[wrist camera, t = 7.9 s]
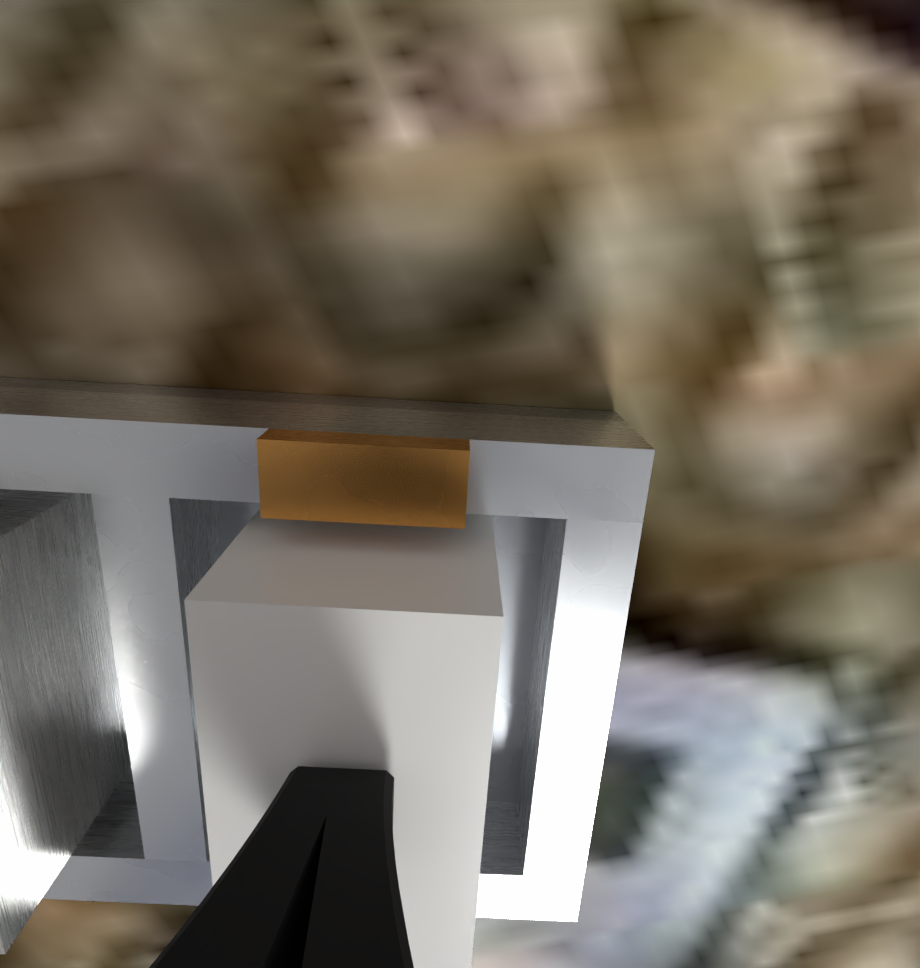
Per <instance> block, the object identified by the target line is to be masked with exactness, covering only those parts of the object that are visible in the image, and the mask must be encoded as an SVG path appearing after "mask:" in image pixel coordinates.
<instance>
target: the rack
mask: <svg viewBox="0 0 920 968" xmlns="http://www.w3.org/2000/svg"><path fill="white" fill-rule="evenodd" d="M654 453H655V449H654V448H653V447H652V446H651V445H649V444H648V443H647V442H646V441H645V440H644V439H643V438H642V437H641V436H640V435H639V434H638V433H637V432H636V431H635V430H634V429H633V428H632V427H631V426H630V425H629V424H628V423H627V422H626V421H625V420H624V419H622V418H621V417H620V416H619V415H618V414H617V413H616V412H615V411H598V410H580V409H562V408H544V407H526V406H509V405H491V404H473V403H455V402H437V401H419V400H401V399H384V398H366V397H348V396H330V395H312V394H294V393H277V392H259V391H241V390H223V389H205V388H187V387H169V386H152V385H134V384H116V383H98V382H80V381H62V380H45V379H27V378H9V377H0V954H6V952H7V951H8V949H9V948H10V946H11V945H12V943H13V942H14V940H15V939H16V937H17V936H18V934H19V933H20V931H21V930H22V928H23V927H24V925H25V924H26V922H27V921H28V919H29V918H30V916H31V915H32V913H33V912H34V910H35V909H36V907H37V906H38V904H39V902H40V901H41V899H59V900H82V901H105V902H129V903H152V904H175V905H198V906H199V904H200V903H201V902H202V900H203V899H204V898H205V896H206V895H207V894H208V892H209V891H210V890H211V888H212V887H213V885H212V875H211V865H210V855H209V845H208V834H207V824H206V814H205V804H204V794H203V784H202V774H201V764H200V754H199V744H198V734H197V724H196V714H195V704H194V694H193V684H192V674H191V664H190V654H189V644H188V633H187V623H186V613H185V603H184V600H185V598H186V597H187V596H188V595H189V594H190V592H191V591H192V590H193V589H194V588H195V586H196V585H197V584H198V583H199V581H200V580H201V579H202V578H203V577H204V575H205V574H206V573H207V572H208V571H209V569H210V568H211V567H212V566H213V565H214V563H215V562H216V561H217V560H218V558H219V557H220V556H221V555H222V554H223V552H224V551H225V550H226V549H227V548H228V546H229V545H230V544H231V543H232V542H233V540H234V539H235V538H236V537H237V535H238V534H239V533H240V532H241V531H242V529H243V528H244V527H245V526H246V525H247V523H248V522H249V521H250V520H251V519H252V517H253V516H254V515H255V514H256V512H257V511H258V510H259V509H260V515H261V518H267V519H286V520H305V521H324V522H343V523H362V524H381V525H399V526H418V527H437V528H456V529H465V521H466V514H481V515H492V523H493V531H494V540H495V548H496V557H497V565H498V574H499V582H500V591H501V599H502V607H503V616H504V618H503V628H502V639H501V650H500V661H499V672H498V682H497V693H496V704H495V715H494V726H493V737H492V747H491V758H490V769H489V780H488V791H487V801H486V812H485V823H484V834H483V845H482V856H481V866H480V877H479V888H478V899H477V910H476V917H478V918H501V919H524V920H548V921H571V922H577V918H578V912H579V906H580V900H581V894H582V888H583V882H584V876H585V870H586V864H587V858H588V851H589V845H590V839H591V833H592V827H593V821H594V815H595V809H596V803H597V797H598V791H599V785H600V779H601V773H602V767H603V761H604V755H605V749H606V743H607V737H608V731H609V725H610V718H611V712H612V706H613V700H614V694H615V688H616V682H617V676H618V670H619V664H620V658H621V652H622V646H623V640H624V634H625V628H626V622H627V616H628V610H629V604H630V598H631V592H632V585H633V579H634V573H635V567H636V561H637V555H638V549H639V543H640V537H641V531H642V525H643V519H644V513H645V507H646V501H647V495H648V489H649V483H650V477H651V471H652V465H653V459H654Z"/></svg>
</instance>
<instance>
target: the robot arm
mask: <svg viewBox="0 0 920 968" xmlns="http://www.w3.org/2000/svg"><path fill="white" fill-rule="evenodd" d="M393 805H394V777H393V776H392V775H391V774H390V773H389V772H388V771H387V770H371V769H350V768H328V767H307V766H298V767H296V768H295V769H294V770H293V771H291V772H290V774H289V775H288V777H287V779H286V780H285V782H284V784H283V785H282V787H281V788H280V790H279V792H278V793H277V795H276V796H275V798H274V799H273V801H272V803H271V804H270V806H269V807H268V809H267V810H266V812H265V813H264V815H263V816H262V818H261V819H260V821H259V822H258V824H257V825H256V827H255V828H254V830H253V831H252V833H251V834H250V836H249V837H248V838H247V840H246V841H245V843H244V844H243V846H242V847H241V848H240V850H239V851H238V853H237V854H236V856H235V857H234V858H233V860H232V861H231V863H230V864H229V865H228V867H227V868H226V869H225V871H224V872H223V873H222V875H221V876H220V877H219V879H218V880H217V881H216V883H215V884H214V885H213V887H212V888H211V890H210V891H209V892H208V894H207V895H206V896H205V898H204V899H203V900H202V902H201V903H200V904H199V906H198V907H197V908H196V910H195V911H194V912H193V914H192V915H191V916H190V918H189V919H188V920H187V922H186V923H185V924H184V925H183V927H182V928H181V929H180V930H179V932H178V933H177V934H176V935H175V937H174V938H173V939H172V940H171V942H170V943H169V944H168V945H167V947H166V948H165V949H164V950H163V951H162V953H161V954H160V955H159V956H158V958H157V959H156V960H155V961H154V963H153V964H152V965H151V966H150V967H149V968H414V966H413V961H412V956H411V951H410V946H409V941H408V936H407V930H406V924H405V919H404V913H403V907H402V901H401V896H400V890H399V883H398V876H397V869H396V861H395V850H394V840H393Z"/></svg>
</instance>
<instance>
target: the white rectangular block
mask: <svg viewBox="0 0 920 968" xmlns="http://www.w3.org/2000/svg"><path fill="white" fill-rule="evenodd" d="M184 603H185V613H186V623H187V633H188V644H189V654H190V664H191V674H192V684H193V694H194V704H195V714H196V724H197V734H198V744H199V754H200V764H201V774H202V784H203V794H204V804H205V814H206V824H207V834H208V845H209V855H210V865H211V875H212V885H214V884H215V883H216V881H217V880H218V879H219V877H220V876H221V875H222V873H223V872H224V871H225V869H226V868H227V867H228V865H229V864H230V863H231V861H232V860H233V858H234V857H235V856H236V854H237V853H238V851H239V850H240V848H241V847H242V846H243V844H244V843H245V841H246V840H247V838H248V837H249V836H250V834H251V833H252V831H253V830H254V828H255V827H256V825H257V824H258V822H259V821H260V819H261V818H262V816H263V815H264V813H265V812H266V810H267V809H268V807H269V806H270V804H271V803H272V801H273V799H274V798H275V796H276V795H277V793H278V792H279V790H280V788H281V787H282V785H283V784H284V782H285V780H286V779H287V777H288V775H289V774H290V772H291V771H293V770H294V769H295V768H296V767H298V766H307V767H328V768H350V769H371V770H387V771H388V772H389V773H390V774H391V775H392V776H393V777H394V805H393V840H394V850H395V861H396V869H397V876H398V883H399V890H400V896H401V901H402V907H403V913H404V919H405V924H406V930H407V936H408V941H409V946H410V951H411V956H412V961H413V966H414V968H471V964H472V953H473V942H474V931H475V920H476V910H477V899H478V888H479V877H480V866H481V856H482V845H483V834H484V823H485V812H486V801H487V791H488V780H489V769H490V758H491V747H492V737H493V726H494V715H495V704H496V693H497V682H498V672H499V661H500V650H501V639H502V628H503V618H504V616H503V607H502V599H501V591H500V582H499V574H498V565H497V557H496V548H495V540H494V531H493V523H492V515H481V514H466V521H465V529H456V528H437V527H418V526H399V525H381V524H362V523H343V522H324V521H305V520H286V519H267V518H261V515H260V509H259V510H258V511H257V512H256V514H255V515H254V516H253V517H252V519H251V520H250V521H249V522H248V523H247V525H246V526H245V527H244V528H243V529H242V531H241V532H240V533H239V534H238V535H237V537H236V538H235V539H234V540H233V542H232V543H231V544H230V545H229V546H228V548H227V549H226V550H225V551H224V552H223V554H222V555H221V556H220V557H219V558H218V560H217V561H216V562H215V563H214V565H213V566H212V567H211V568H210V569H209V571H208V572H207V573H206V574H205V575H204V577H203V578H202V579H201V580H200V581H199V583H198V584H197V585H196V586H195V588H194V589H193V590H192V591H191V592H190V594H189V595H188V596H187V597H186V598H185V600H184Z"/></svg>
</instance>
